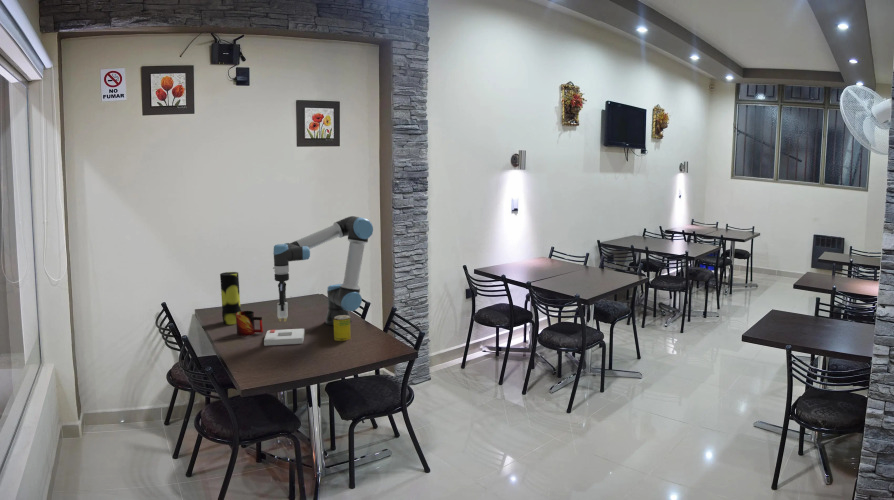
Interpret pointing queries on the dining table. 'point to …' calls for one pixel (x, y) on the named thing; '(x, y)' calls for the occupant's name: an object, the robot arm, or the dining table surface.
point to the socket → (284, 337)
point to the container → (230, 296)
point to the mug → (247, 323)
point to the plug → (279, 312)
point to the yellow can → (342, 328)
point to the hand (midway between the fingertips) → (283, 315)
